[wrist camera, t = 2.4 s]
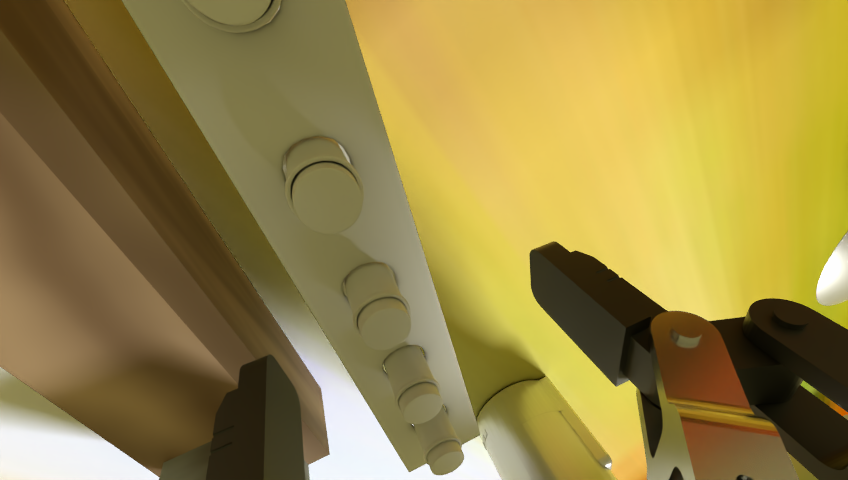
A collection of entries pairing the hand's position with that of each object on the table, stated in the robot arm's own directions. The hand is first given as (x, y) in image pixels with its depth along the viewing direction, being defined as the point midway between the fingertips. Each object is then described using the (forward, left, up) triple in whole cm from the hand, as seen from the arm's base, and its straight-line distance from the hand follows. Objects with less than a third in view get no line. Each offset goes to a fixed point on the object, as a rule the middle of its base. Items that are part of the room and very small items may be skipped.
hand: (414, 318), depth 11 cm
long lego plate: (+1, 0, -14) cm, 14 cm away
